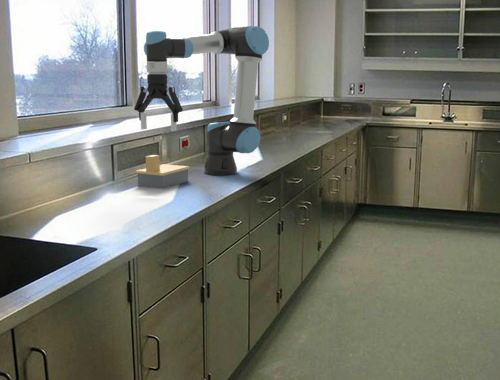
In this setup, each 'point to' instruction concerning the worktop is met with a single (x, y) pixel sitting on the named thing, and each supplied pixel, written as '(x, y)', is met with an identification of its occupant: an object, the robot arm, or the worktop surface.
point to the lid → (159, 167)
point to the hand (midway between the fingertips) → (158, 130)
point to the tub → (162, 179)
